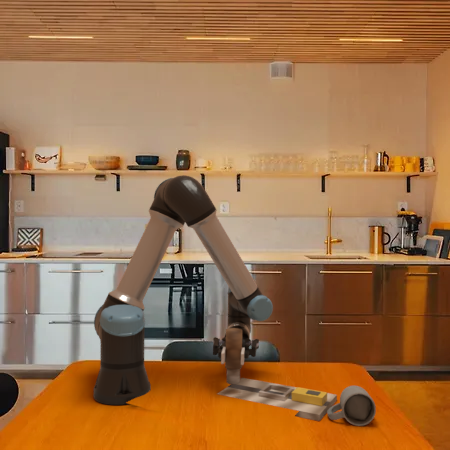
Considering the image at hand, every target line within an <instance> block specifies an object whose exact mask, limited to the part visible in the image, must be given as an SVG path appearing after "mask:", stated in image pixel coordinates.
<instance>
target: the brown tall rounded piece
mask: <svg viewBox="0 0 450 450" xmlns="http://www.w3.org/2000/svg"><path fill="white" fill-rule="evenodd" d="M225 334H226V359H225V362H224V364H225V365H224V366H225V369H226V383H227V384H228V385H231V384H239V383H240V379H241V369H242V368H243V365H241V351H242V329H238V328H229V329H227V328H226V329H225Z"/></svg>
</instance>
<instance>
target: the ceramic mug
mask: <svg viewBox="0 0 450 450" xmlns="http://www.w3.org/2000/svg"><path fill="white" fill-rule="evenodd" d="M376 407H377V406H376V404H375V401H374V399H373V398H372V397H371V395H370V394H369V393H368V391H366V389H364V388H363V387H361V386H358V385H349V386H347V387H346V388H344V389H343V390H342V392H341V393H340V397H339V403H336V404H333V406H332V407H331V408H329V409H328V411H327V413H326V414H327V416H328V418H329V420H332V421H338V420H341V419H345V420H346V422H348V423H349V424H351V425H353V426H357V427H364V426H366V425H368V424H370V423H371V422H372V421H373V419H375V416H376V413H377V409H376Z"/></svg>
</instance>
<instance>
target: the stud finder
mask: <svg viewBox="0 0 450 450" xmlns="http://www.w3.org/2000/svg"><path fill="white" fill-rule="evenodd" d="M327 393H328V392H326V391H321V390H315V389H310V388H305V387H299V386H297V388H296V389H295V390H294V391H293V392H292V400H293V401H299V402H304V403H309V404H314V405H319V406H323V405H324V403H325V402H326V401H327Z"/></svg>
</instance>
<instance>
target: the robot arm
mask: <svg viewBox="0 0 450 450" xmlns="http://www.w3.org/2000/svg"><path fill="white" fill-rule="evenodd" d="M217 211H218V209H217V208H216V206H215V205H214V203H213V201H212V199H211V198H210V196H209V194H208V192H207V191H206V190H205V188H204V187H203V185H202V184H201V182H199V180H197V179H196V178H194V177H193V176H190V175H177V176H175V177H170V178H168V179H165V180H163V181H162V182H161V183H159V184H158V185H157V187H156V189H155V191H154V195H153V201H152V203H151V205H150V207H149V209H148V212H149V216H150V219H149V220H148V223H147V225H146V227H145V229H144V232H143V233H142V235H141V237H140V239H139V242H138V244H137V245H136V248H135V250H134V252H133V254H132V256H131V258H130V260H129V262H128V264H127V266H126V268H125V271H124V273H123V275H122V277H121V279H120V280H119V283H118V285H117V287H116V289H114V290H112V291H109V292H108V294H107V296H106V298H105V300H104V302H103V304H102V305H100V307H99V308H98V309H97V311H96V313H95V315H94V319H93V325H94V326H93V327H94V330H95V333H96V335H97V337H98V339H99V340H100V343H99V344H100V352H99V353H100V358H99V359H100V364H99V365H100V366H99V371H98V374H97V378H96V382H95V384H94V387H93V399H94V400H95V401H96V402H97V403H100V404H103V405H111V406H113V405H114V406H118V405H121V406H122V405H129V403H128V402H130V401H132V400H134V399H136V398H140V397H142V396H145V395H146V394H148V393H149V392H150V391H151V389H152V388H151V383H150V380H149V377H148V374H147V369H146V367H145V325H146V319H145V312H144V310H145V305H144V303H143V301H144V300H145V297H146V295H147V293H148V290H149V288H150V287H151V284H152V281H153V280H154V277H155V275H156V273H157V271H158V269H159V267H160V265H161V263H162V260H163V258H164V256H165V255H166V252H167V250H168V248H169V246H170V244H171V242H172V239H173V238H174V236H175V233H176V231H177V230H178V229H182V228H183V227H184V226H185V225H186V226H187V228H189V229H190V228H191V229H193V231H194V233H195V234H196V235H197V238H198V239H199V240H200V242H201V244H202V245H203V247H204V249H205V250H206V252H207V253H208V255H209V256H210V259H211V260H212V261H213V263H214V265H215V267H216V268H217V270H218V271H219V274H220V275H221V276H222V278H223V280H224V281H225V283H226V284H227V286H228V289H227V326H226V327H227V328H226V329H229V328H238V329H242V351H241V365H242V366H244V364H245V359H246V360H248V359H249V358H250V356H251V357H252V358H255V357H256V356H257V350H258V349H259V348H260V340H259V339H258V338H254V339H252V340H251V339H250V338H251V336H250V335H251V332H252V325H251V324H252V323H251V322H252V321H251V320H253V321H258V322H264V321H266V320H268V319H269V318H270V316H272V314H273V310H274V306H273V302H272V300H271V299H270V298H268V297H267V295H264V294H263V292H262V291H261V289H260V288H259V286H258V285H257V283H256V281H255V280H254V277H253V276H252V274H251V273H250V271H249V269H248V267H247V266H246V265H245V263H244V261H243V259H242V257H241V256H240V255H239V253H238V251H237V248H236V247H235V246H234V244H233V242H232V240H231V238H230V237H229V235H228V233H227V232H226V230H225V228H224V227H223V225H222V223H221V221H220V220H219V219H218V217H217ZM212 340H213V343H212V344H213V345H212V355H213V356H217V357H218V358H219V359H220V360H221V361H220V364H221V365H224V364H225V359H226V333H225V334H224V337H222V338H221V339H220V338H218V337H217V336H216V337H213V339H212ZM250 347H251V348H250Z"/></svg>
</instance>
